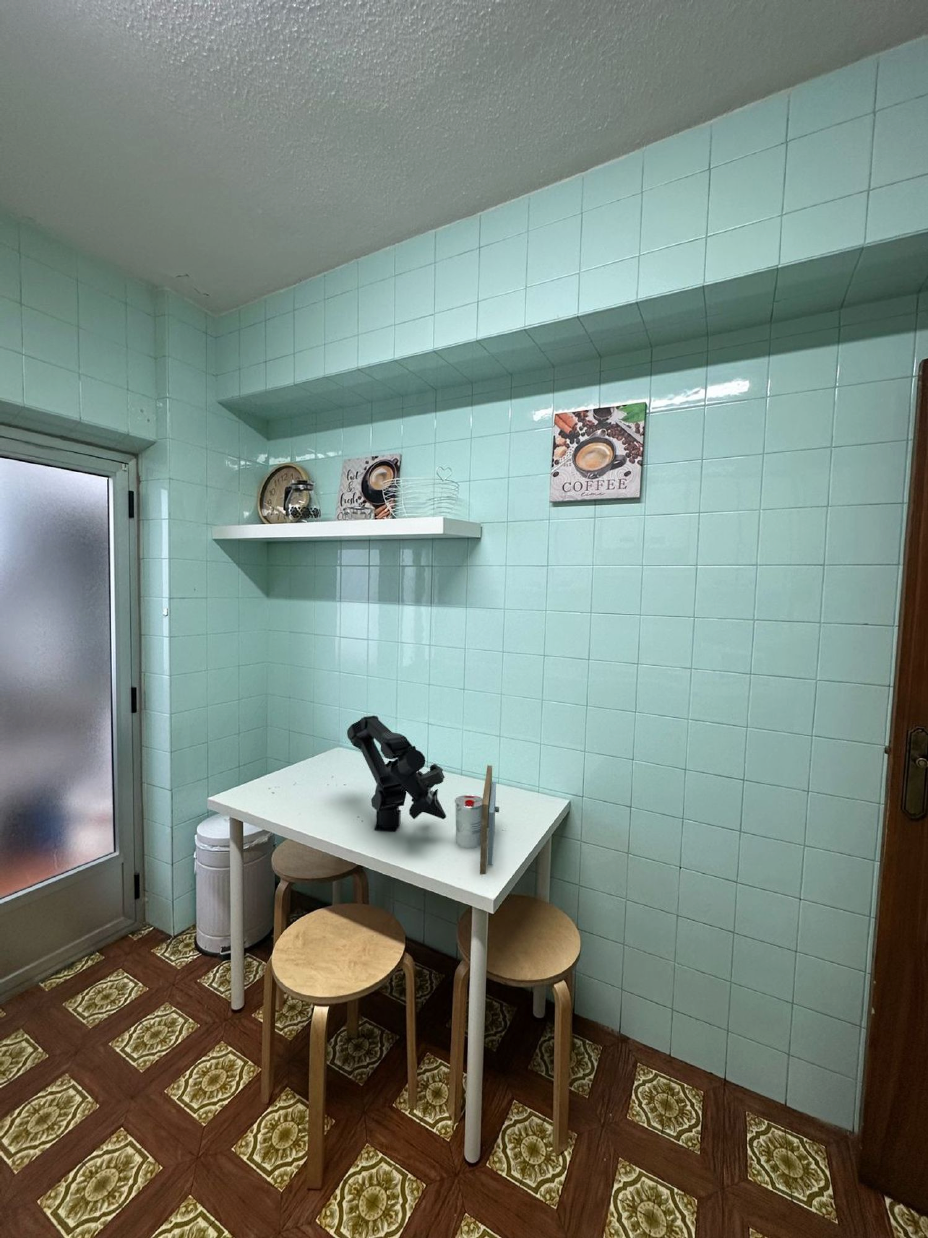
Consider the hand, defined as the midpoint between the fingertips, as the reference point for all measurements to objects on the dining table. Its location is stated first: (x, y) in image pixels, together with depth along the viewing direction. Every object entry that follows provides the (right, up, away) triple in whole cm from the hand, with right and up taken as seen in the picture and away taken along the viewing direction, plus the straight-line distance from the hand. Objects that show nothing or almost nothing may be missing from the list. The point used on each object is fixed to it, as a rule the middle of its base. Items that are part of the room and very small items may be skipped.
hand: (445, 817), depth 145 cm
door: (+14, -7, -2) cm, 15 cm away
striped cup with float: (+7, -7, 0) cm, 10 cm away
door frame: (+12, -7, -2) cm, 14 cm away
